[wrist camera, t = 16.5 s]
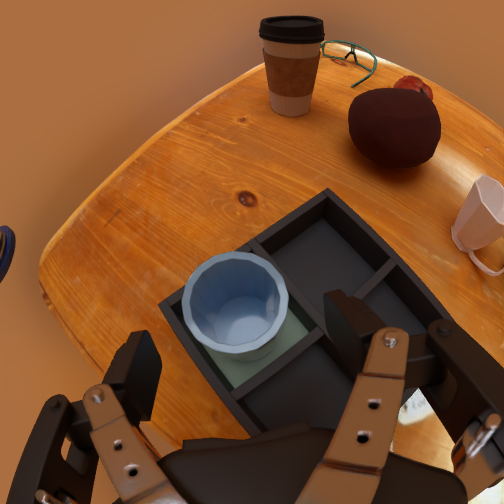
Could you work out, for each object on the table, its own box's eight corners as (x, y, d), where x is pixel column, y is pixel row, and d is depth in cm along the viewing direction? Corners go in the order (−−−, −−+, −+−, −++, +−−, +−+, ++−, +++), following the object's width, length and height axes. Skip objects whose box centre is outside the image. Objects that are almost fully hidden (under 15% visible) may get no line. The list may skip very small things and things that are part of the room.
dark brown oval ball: (326, 134, 33) (336, 69, 24) (399, 129, 34) (418, 75, 25) (364, 195, 28) (392, 124, 19) (440, 182, 29) (472, 126, 20)
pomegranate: (382, 107, 40) (396, 102, 32) (391, 74, 37) (405, 63, 28) (416, 123, 40) (436, 122, 31) (425, 91, 36) (445, 84, 27)
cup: (467, 211, 27) (497, 173, 20) (496, 279, 22) (537, 250, 15) (433, 216, 27) (464, 172, 19) (464, 293, 22) (510, 262, 15)
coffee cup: (322, 122, 35) (333, 28, 21) (263, 122, 35) (258, 25, 22) (312, 94, 38) (318, 14, 25) (261, 94, 39) (257, 13, 26)
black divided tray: (296, 472, 17) (301, 489, 13) (174, 316, 24) (157, 304, 20) (437, 338, 21) (461, 329, 17) (321, 212, 28) (327, 187, 24)
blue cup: (238, 376, 20) (221, 375, 13) (197, 319, 23) (164, 289, 15) (296, 332, 22) (310, 308, 14) (253, 279, 24) (245, 233, 17)
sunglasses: (380, 71, 44) (384, 53, 39) (360, 97, 40) (364, 76, 36) (324, 51, 48) (324, 34, 44) (294, 75, 45) (293, 54, 40)
